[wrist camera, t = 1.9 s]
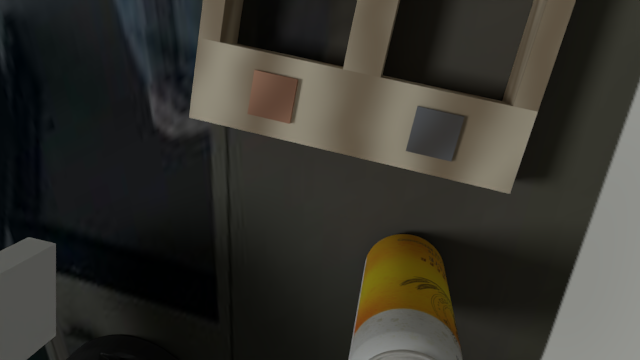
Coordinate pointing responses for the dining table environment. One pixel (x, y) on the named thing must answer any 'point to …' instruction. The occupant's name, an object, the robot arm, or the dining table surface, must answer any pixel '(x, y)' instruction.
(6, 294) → the robot arm
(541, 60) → the socket board
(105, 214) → the dining table surface
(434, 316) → the beer can
